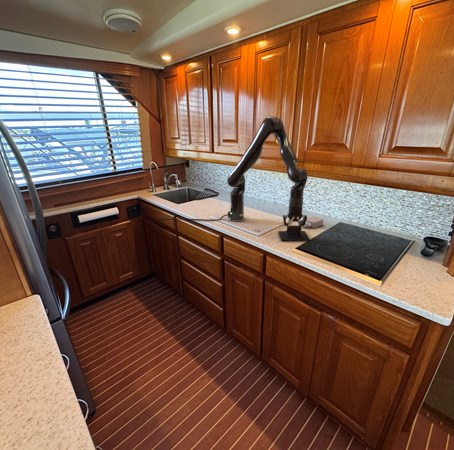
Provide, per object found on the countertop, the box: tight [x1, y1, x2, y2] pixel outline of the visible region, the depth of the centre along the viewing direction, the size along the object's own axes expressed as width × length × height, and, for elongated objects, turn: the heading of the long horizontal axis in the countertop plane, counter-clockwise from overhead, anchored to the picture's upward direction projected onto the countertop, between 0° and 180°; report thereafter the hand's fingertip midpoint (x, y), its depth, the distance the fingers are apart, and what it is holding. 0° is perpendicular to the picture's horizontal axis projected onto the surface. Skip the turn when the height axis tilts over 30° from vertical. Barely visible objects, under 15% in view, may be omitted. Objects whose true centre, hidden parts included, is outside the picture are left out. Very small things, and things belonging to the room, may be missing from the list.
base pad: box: [278, 230, 311, 242], centre depth 141 cm, size 16×12×2 cm
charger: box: [303, 215, 324, 229], centre depth 155 cm, size 5×9×15 cm
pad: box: [289, 224, 300, 235], centre depth 139 cm, size 6×6×4 cm
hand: (293, 231), depth 140 cm, fingers closed on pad, 5 cm apart
